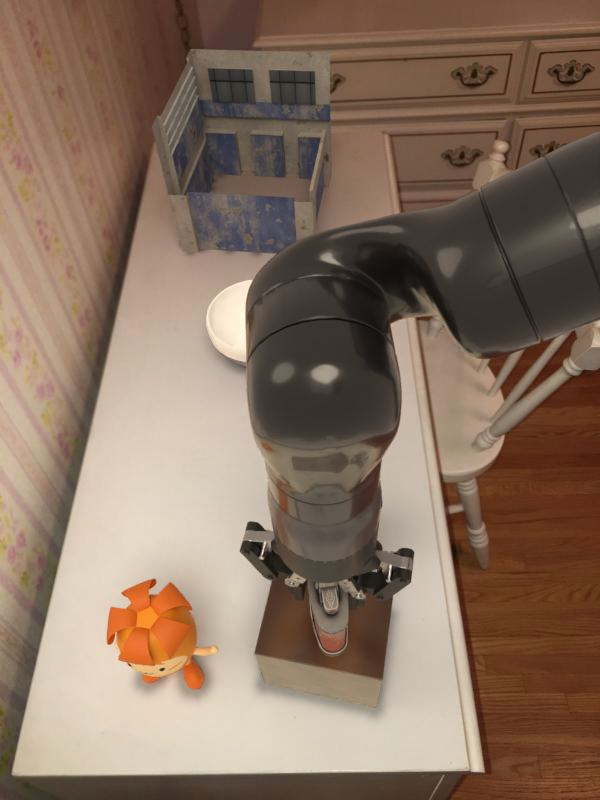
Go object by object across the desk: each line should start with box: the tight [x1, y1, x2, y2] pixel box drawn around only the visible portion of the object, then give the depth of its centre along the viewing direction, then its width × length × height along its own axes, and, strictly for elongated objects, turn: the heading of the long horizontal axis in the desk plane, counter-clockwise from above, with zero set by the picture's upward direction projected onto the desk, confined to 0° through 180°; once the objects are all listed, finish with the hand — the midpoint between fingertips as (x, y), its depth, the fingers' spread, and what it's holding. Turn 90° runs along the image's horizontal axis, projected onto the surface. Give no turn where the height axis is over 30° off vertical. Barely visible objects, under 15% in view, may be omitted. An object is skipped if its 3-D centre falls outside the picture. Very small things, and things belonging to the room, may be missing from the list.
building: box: [151, 48, 332, 255], centre depth 108 cm, size 23×24×23 cm
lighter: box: [307, 580, 348, 656], centre depth 58 cm, size 8×3×10 cm, turn 8°
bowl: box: [205, 279, 253, 368], centre depth 95 cm, size 14×14×8 cm
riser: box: [254, 570, 394, 708], centre depth 67 cm, size 12×10×12 cm
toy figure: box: [106, 578, 219, 691], centre depth 66 cm, size 12×8×15 cm, turn 81°
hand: (327, 594), depth 58 cm, fingers closed on lighter, 4 cm apart
